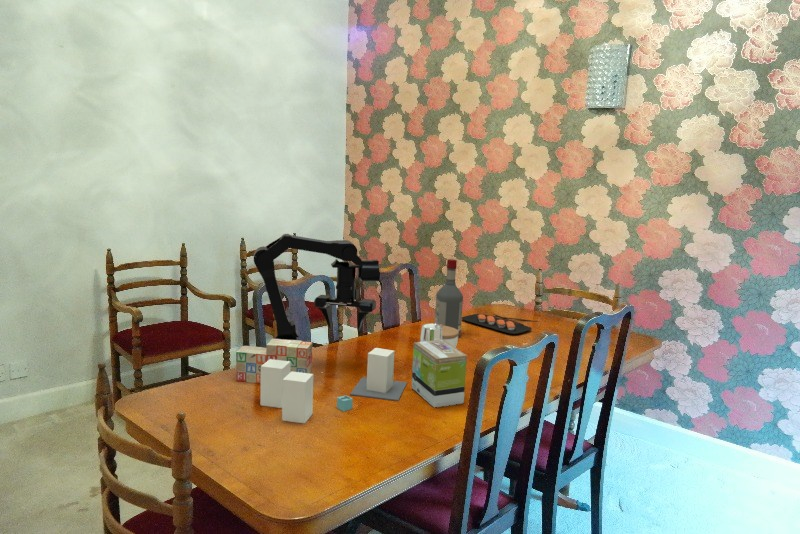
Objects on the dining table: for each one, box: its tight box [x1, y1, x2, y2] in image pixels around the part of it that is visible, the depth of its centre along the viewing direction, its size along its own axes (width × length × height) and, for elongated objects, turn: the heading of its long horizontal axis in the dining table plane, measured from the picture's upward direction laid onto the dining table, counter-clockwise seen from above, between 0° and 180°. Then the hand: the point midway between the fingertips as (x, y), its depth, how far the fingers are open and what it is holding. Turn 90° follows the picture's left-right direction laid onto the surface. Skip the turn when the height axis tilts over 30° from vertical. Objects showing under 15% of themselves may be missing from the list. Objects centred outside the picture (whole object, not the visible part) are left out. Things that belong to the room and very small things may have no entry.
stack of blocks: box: [235, 338, 313, 384], centre depth 175 cm, size 21×6×12 cm, turn 84°
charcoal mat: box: [349, 376, 408, 402], centre depth 173 cm, size 14×14×1 cm
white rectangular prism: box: [366, 347, 396, 393], centre depth 172 cm, size 6×6×11 cm
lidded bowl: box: [440, 324, 459, 349], centre depth 206 cm, size 13×13×11 cm
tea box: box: [411, 339, 468, 409], centre depth 169 cm, size 15×10×15 cm
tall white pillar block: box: [281, 371, 314, 424], centre depth 151 cm, size 6×6×11 cm
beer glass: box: [419, 323, 442, 342], centre depth 189 cm, size 7×7×15 cm
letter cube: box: [336, 394, 354, 412], centre depth 159 cm, size 3×3×3 cm
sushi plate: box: [461, 313, 540, 335], centre depth 253 cm, size 29×30×4 cm
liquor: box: [434, 258, 464, 338], centre depth 228 cm, size 9×9×30 cm
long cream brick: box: [259, 359, 291, 409], centre depth 159 cm, size 6×6×11 cm
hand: (344, 329), depth 186 cm, fingers open, 9 cm apart
